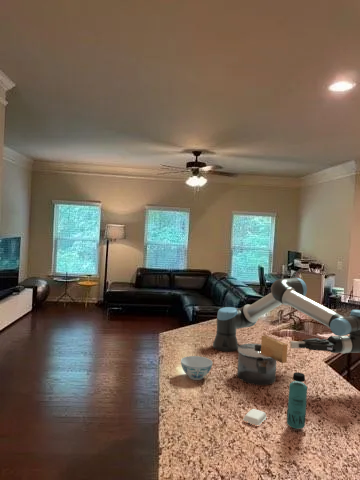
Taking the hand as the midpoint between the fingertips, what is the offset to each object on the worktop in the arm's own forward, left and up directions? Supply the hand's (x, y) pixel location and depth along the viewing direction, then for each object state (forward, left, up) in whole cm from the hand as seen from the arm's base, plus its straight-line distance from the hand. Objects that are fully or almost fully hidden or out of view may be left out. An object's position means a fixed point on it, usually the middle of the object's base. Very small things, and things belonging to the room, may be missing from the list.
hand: (291, 344), depth 172 cm
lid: (-12, -4, -8) cm, 15 cm away
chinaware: (-31, -29, -20) cm, 47 cm away
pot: (-15, -5, -20) cm, 25 cm away
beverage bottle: (+24, -26, -20) cm, 41 cm away
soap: (+12, -34, -21) cm, 42 cm away
